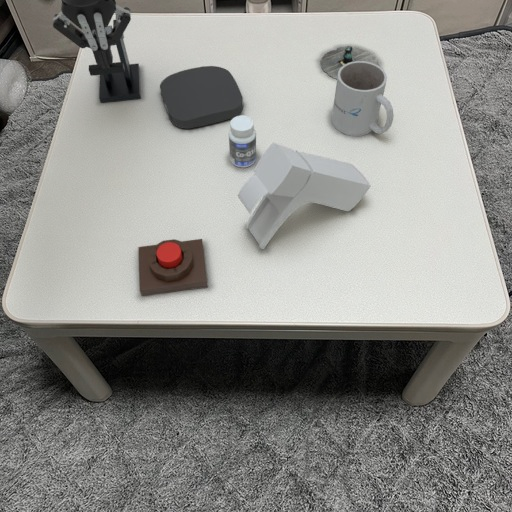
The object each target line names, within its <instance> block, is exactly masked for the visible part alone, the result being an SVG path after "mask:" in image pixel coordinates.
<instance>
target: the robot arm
mask: <svg viewBox="0 0 512 512" xmlns="http://www.w3.org/2000/svg"><path fill="white" fill-rule="evenodd" d="M131 13H132V12H131V9H130V8H129V7H128V6H127V7H121V6H120V5H118V4H117V1H116V0H61V6H60V12H58V13H55V14H54V15H53V19H52V27H53V29H55V30H56V31H57V32H59V33H60V34H62V35H63V36H64V37H65V38H67V39H68V40H69V41H71V42H72V43H74V44H75V45H76V46H77V47H79V48H81V49H85V48H89V49H90V50H91V51H92V53H93V57H94V61H95V64H97V65H98V66H99V65H101V68H110V64H112V63H114V57H113V53H112V50H111V49H112V46H111V45H113V46H116V45H117V44H118V42H119V40H120V38H121V36H122V35H123V33H124V34H125V31H126V29H127V27H128V25H130V22H131V21H132V18H131V16H132V14H131ZM114 14H115V20H116V23H115V25H114V27H113V26H112V28H113V29H112V31H111V33H110V34H108V35H107V29H106V27H107V26H110V23H111V21H112V19H113V16H114ZM73 24H74V25H73ZM95 30H97V33H98V37H99V41H100V43H99V41H98V37H97V35H96V32H95ZM110 46H111V48H110Z"/></svg>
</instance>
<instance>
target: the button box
mask: <svg viewBox="0 0 512 512" xmlns="http://www.w3.org/2000/svg"><path fill="white" fill-rule="evenodd" d="M168 242H172V243H175V244H177V245H178V246H179V247H180V249H181V253H182V261H181V263H180V264H179V265H178V266H176V267H174V268H164V267H162V266H161V265H160V263H159V261H158V258H157V250H158V248H159V247H160V246H161V245H162V244H164V243H168ZM207 275H208V274H207V267H206V257H205V250H204V242H203V238H197V239H189V240H179V239H175V238H174V239H167V240H165V239H164V240H162V241H160V242H159V243H157V244H152V245H151V244H150V245H144V246H138V279H139V280H138V281H139V284H138V285H139V293H140V295H141V296H142V297H145V296H153V295H158V294H166V293H174V292H181V291H189V290H195V289H204V288H208V287H209V285H208V284H209V283H208V276H207Z"/></svg>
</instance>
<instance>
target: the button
mask: <svg viewBox="0 0 512 512" xmlns="http://www.w3.org/2000/svg"><path fill="white" fill-rule="evenodd" d="M157 258H158V261H159V263H160V265H161V266H162V267H164V268H174V267H176V266H178V265H179V264H180V263H181V261H182V253H181V249H180V247H179V246H178V245H177V244H175V243H172V242H168V243H164V244H162V245H161V246H160V247H159V248H158V250H157Z"/></svg>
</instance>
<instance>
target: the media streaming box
mask: <svg viewBox="0 0 512 512" xmlns="http://www.w3.org/2000/svg"><path fill="white" fill-rule="evenodd" d="M159 91H160V95H161V98H162V102H163V104H164V108H165V110H166V113H167V115H168V117H169V119H170V121H171V123H172V125H174V126H176V127H178V128H180V129H195V128H198V127H204V126H207V125H211V124H212V125H213V124H216V123H220V122H224V121H228V120H232V119H233V118H234V117H236V116H240V114H241V113H242V112H243V108H244V101H243V94H242V92H241V89H240V87H239V84H238V83H237V81H236V79H235V78H234V76H233V74H232V73H231V72H230V71H229V70H228V69H227V68H224V67H221V66H215V65H205V66H198V67H192V68H187V69H184V70H180V71H178V72H174V73H172V74H170V75H168V76H166V77H165V78H164V79H163V80H162V81H161V82H160V84H159Z"/></svg>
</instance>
